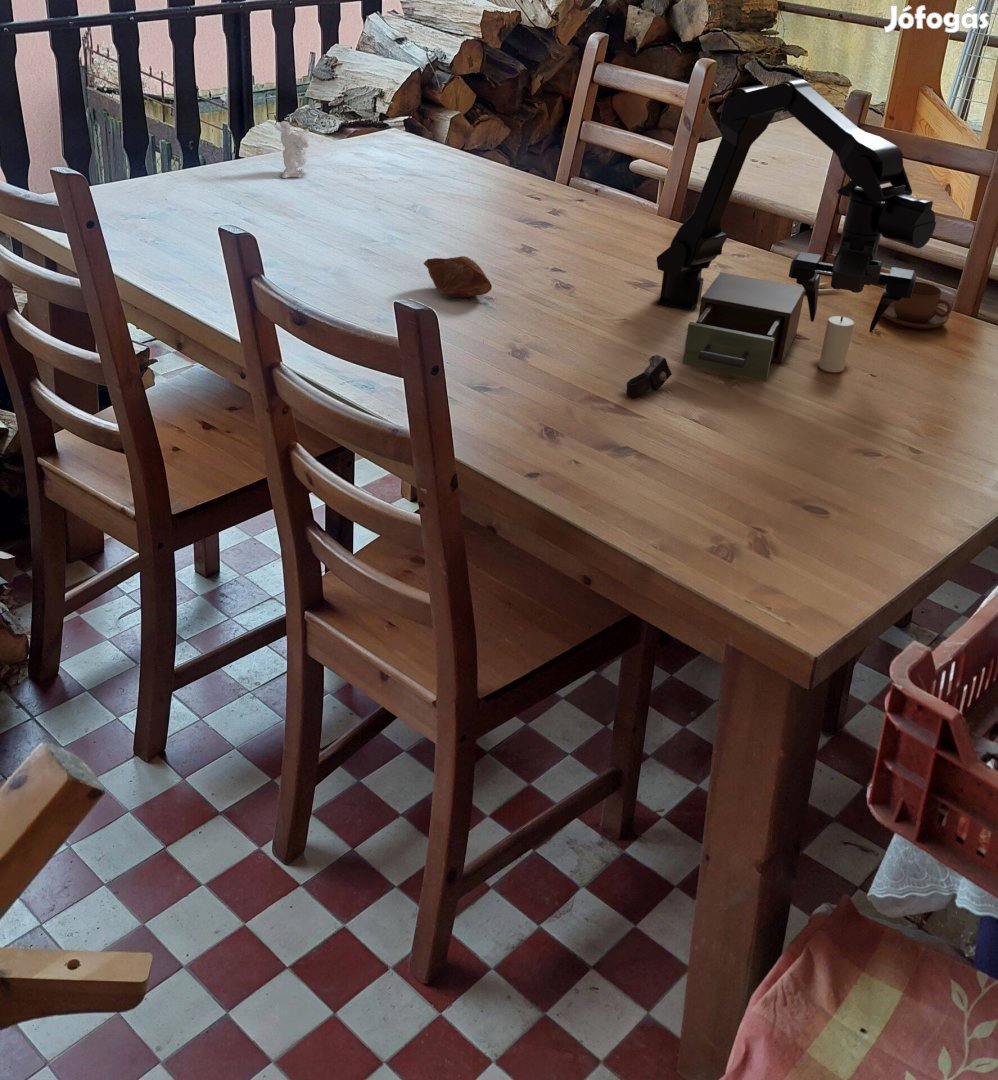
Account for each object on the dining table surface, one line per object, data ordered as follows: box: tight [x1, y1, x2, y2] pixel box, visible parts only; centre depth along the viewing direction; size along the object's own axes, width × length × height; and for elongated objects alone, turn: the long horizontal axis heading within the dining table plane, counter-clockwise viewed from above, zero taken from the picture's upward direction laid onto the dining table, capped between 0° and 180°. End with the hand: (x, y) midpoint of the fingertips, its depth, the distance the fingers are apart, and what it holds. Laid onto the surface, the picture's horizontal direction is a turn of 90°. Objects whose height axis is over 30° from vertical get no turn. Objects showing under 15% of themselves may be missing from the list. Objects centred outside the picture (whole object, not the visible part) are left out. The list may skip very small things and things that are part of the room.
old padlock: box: [626, 354, 673, 399], centre depth 179 cm, size 8×2×5 cm
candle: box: [818, 315, 855, 373], centre depth 189 cm, size 4×4×9 cm
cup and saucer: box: [882, 281, 952, 330], centre depth 210 cm, size 12×12×6 cm
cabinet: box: [698, 271, 806, 364], centre depth 197 cm, size 14×15×9 cm
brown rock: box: [423, 255, 493, 299], centre depth 208 cm, size 13×8×10 cm
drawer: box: [682, 303, 783, 382], centre depth 187 cm, size 17×13×7 cm
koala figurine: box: [274, 120, 310, 179], centre depth 267 cm, size 8×7×12 cm
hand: (841, 326), depth 188 cm, fingers open, 9 cm apart
